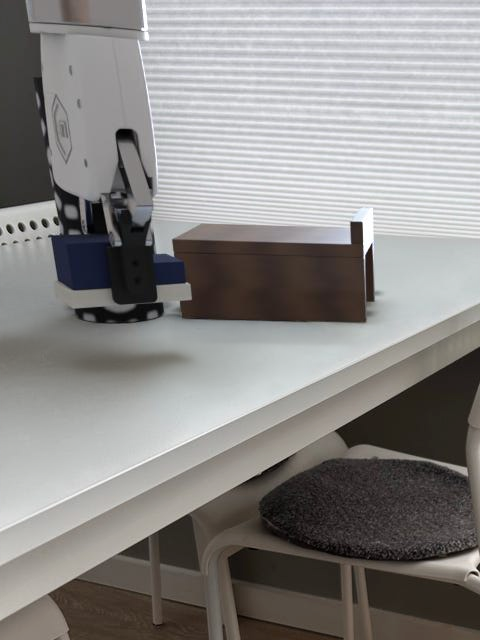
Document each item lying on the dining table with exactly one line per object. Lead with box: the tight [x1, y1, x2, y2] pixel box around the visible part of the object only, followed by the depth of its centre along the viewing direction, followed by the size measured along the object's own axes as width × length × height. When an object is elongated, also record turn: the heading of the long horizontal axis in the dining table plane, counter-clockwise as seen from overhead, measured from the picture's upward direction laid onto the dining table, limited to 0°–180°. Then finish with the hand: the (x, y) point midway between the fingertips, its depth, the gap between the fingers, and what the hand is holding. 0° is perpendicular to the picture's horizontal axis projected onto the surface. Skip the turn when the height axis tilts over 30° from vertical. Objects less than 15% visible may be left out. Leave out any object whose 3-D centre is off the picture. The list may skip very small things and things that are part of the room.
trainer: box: [50, 233, 192, 310], centre depth 72 cm, size 9×4×4 cm, turn 126°
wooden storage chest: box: [171, 206, 376, 324], centre depth 96 cm, size 18×12×9 cm, turn 91°
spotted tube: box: [32, 76, 165, 324], centre depth 88 cm, size 8×8×20 cm
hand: (123, 293), depth 73 cm, fingers closed on trainer, 4 cm apart
